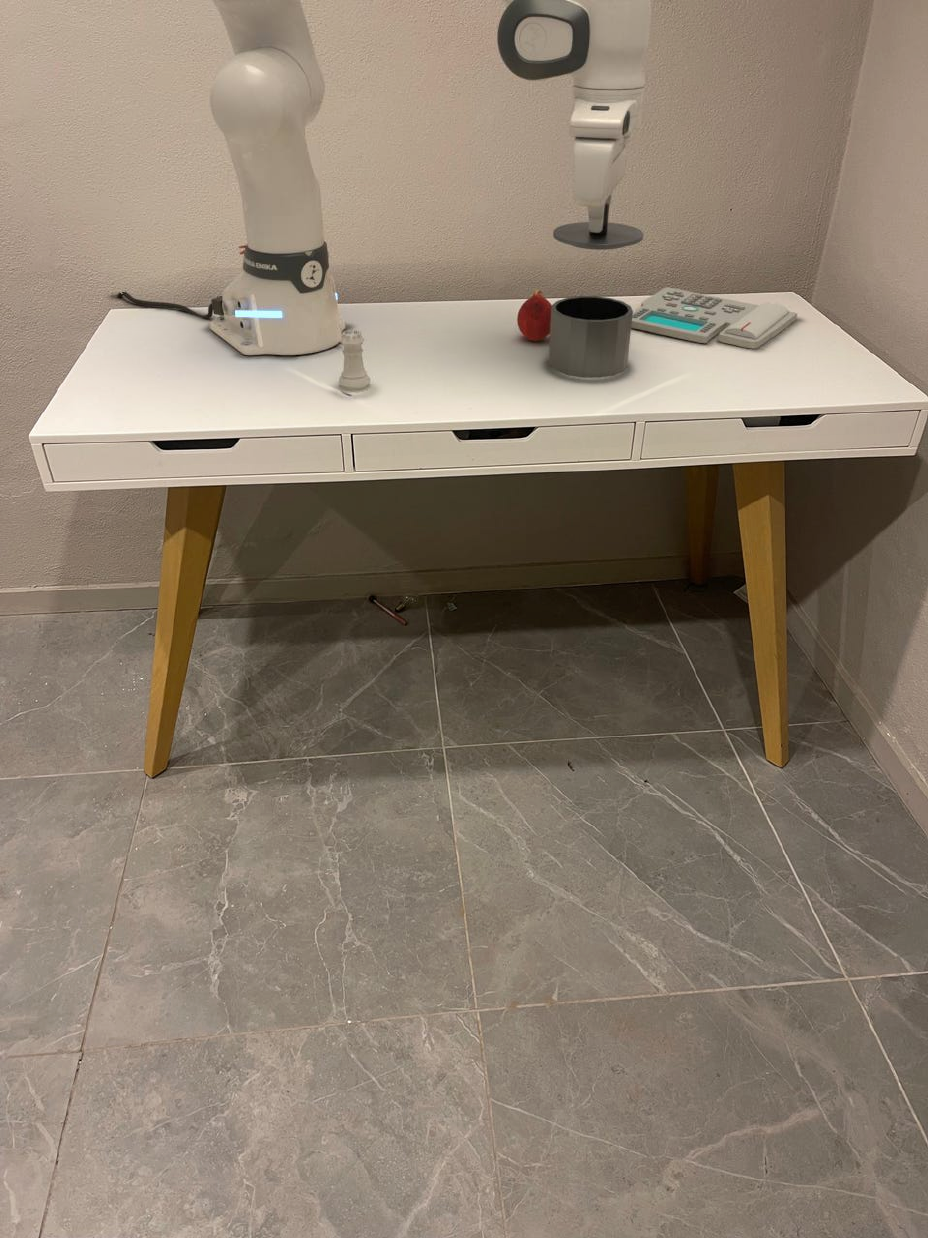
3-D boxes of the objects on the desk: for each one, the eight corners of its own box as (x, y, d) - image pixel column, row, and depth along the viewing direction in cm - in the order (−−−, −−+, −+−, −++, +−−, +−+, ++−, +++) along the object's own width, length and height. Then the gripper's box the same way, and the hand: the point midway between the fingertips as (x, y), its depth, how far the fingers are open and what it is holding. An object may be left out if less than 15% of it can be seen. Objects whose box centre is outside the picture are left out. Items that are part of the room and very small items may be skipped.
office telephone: (800, 304, 156) (757, 338, 143) (796, 320, 158) (754, 356, 144) (667, 278, 167) (615, 308, 153) (665, 293, 168) (613, 325, 154)
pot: (532, 366, 140) (535, 307, 135) (582, 347, 146) (586, 290, 142) (592, 387, 134) (597, 326, 129) (641, 367, 140) (648, 308, 135)
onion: (551, 351, 145) (554, 297, 141) (513, 348, 146) (515, 294, 141) (556, 338, 150) (559, 285, 145) (519, 335, 151) (521, 283, 146)
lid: (541, 232, 133) (542, 197, 131) (622, 227, 136) (625, 192, 133) (570, 255, 124) (572, 217, 121) (656, 249, 126) (661, 212, 124)
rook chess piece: (358, 399, 130) (354, 340, 125) (332, 392, 132) (327, 334, 127) (378, 388, 133) (375, 331, 128) (352, 381, 135) (348, 325, 130)
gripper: (595, 99, 130) (588, 208, 138) (566, 122, 114) (560, 245, 122) (642, 101, 128) (632, 211, 136) (620, 125, 112) (610, 248, 120)
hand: (598, 227), depth 129 cm, fingers closed on lid, 2 cm apart
